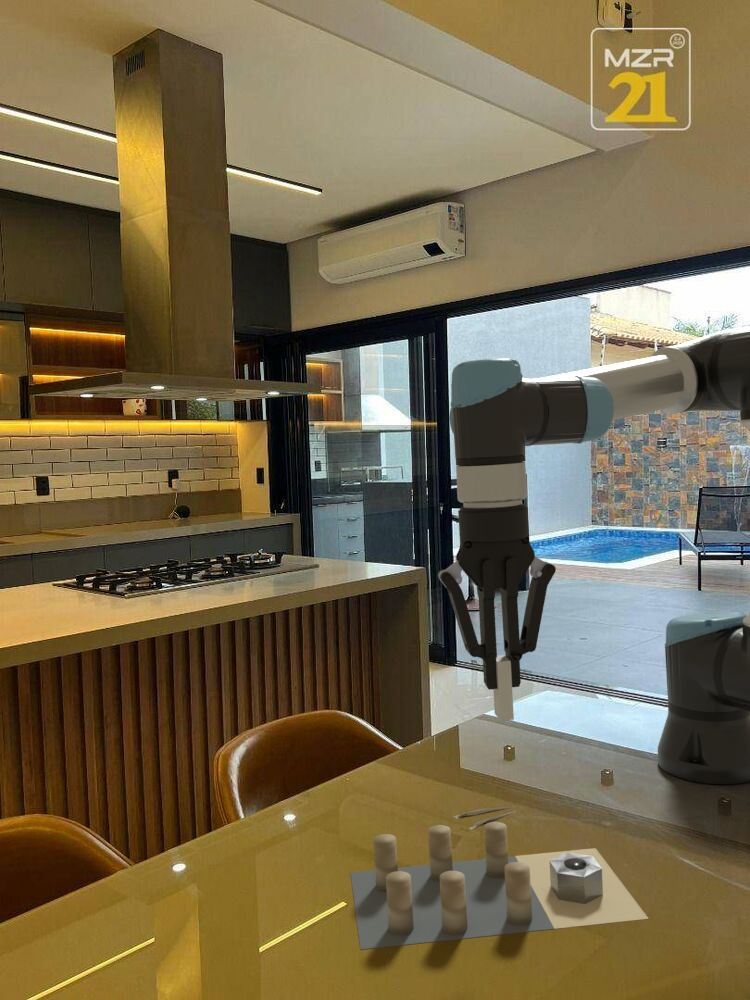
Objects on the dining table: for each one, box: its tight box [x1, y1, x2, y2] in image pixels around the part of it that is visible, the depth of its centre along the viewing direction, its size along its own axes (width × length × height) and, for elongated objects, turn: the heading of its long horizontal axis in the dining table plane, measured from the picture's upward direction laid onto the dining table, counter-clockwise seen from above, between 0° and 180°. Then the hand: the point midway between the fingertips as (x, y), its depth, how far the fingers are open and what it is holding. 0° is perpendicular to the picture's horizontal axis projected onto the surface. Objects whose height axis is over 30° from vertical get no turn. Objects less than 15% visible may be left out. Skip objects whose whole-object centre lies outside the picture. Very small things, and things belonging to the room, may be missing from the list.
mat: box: [349, 847, 649, 951], centre depth 96 cm, size 30×16×1 cm, turn 95°
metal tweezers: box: [451, 805, 517, 831], centre depth 118 cm, size 17×5×2 cm, turn 116°
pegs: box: [372, 821, 532, 935], centre depth 95 cm, size 16×14×6 cm
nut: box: [550, 852, 603, 904], centre depth 96 cm, size 5×6×3 cm
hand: (504, 716), depth 96 cm, fingers closed
